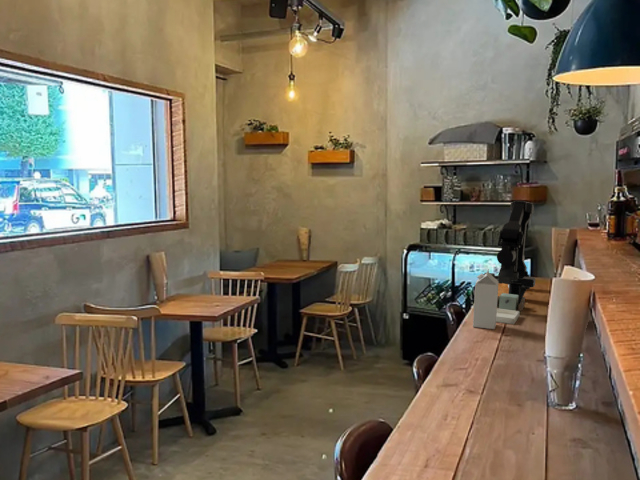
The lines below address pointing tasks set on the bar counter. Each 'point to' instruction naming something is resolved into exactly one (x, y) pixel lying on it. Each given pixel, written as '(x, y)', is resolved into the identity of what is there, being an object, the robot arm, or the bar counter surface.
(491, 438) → the bar counter surface
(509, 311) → the tray
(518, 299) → the dock
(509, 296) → the block with peg handle
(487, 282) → the milk carton
